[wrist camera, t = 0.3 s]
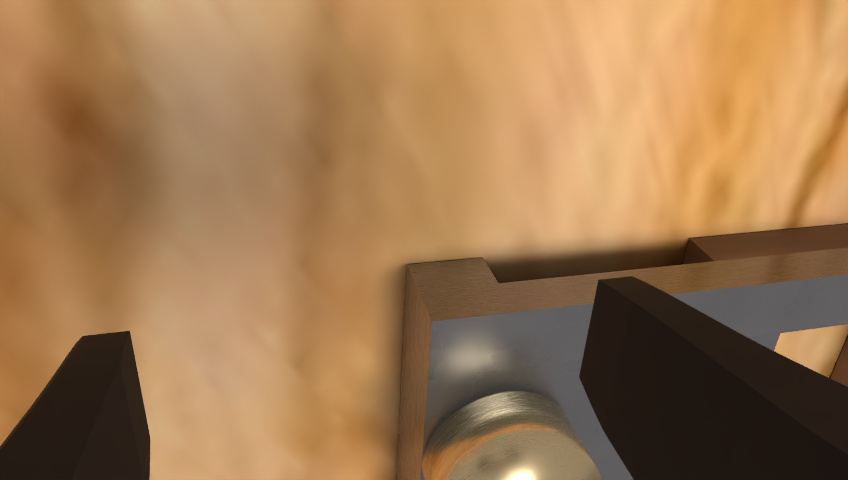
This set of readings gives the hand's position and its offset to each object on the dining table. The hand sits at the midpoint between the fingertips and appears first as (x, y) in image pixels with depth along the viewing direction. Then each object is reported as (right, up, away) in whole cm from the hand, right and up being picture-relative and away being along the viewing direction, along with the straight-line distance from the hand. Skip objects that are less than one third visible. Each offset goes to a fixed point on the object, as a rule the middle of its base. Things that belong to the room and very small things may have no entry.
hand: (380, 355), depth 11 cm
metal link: (+10, -3, +17) cm, 20 cm away
